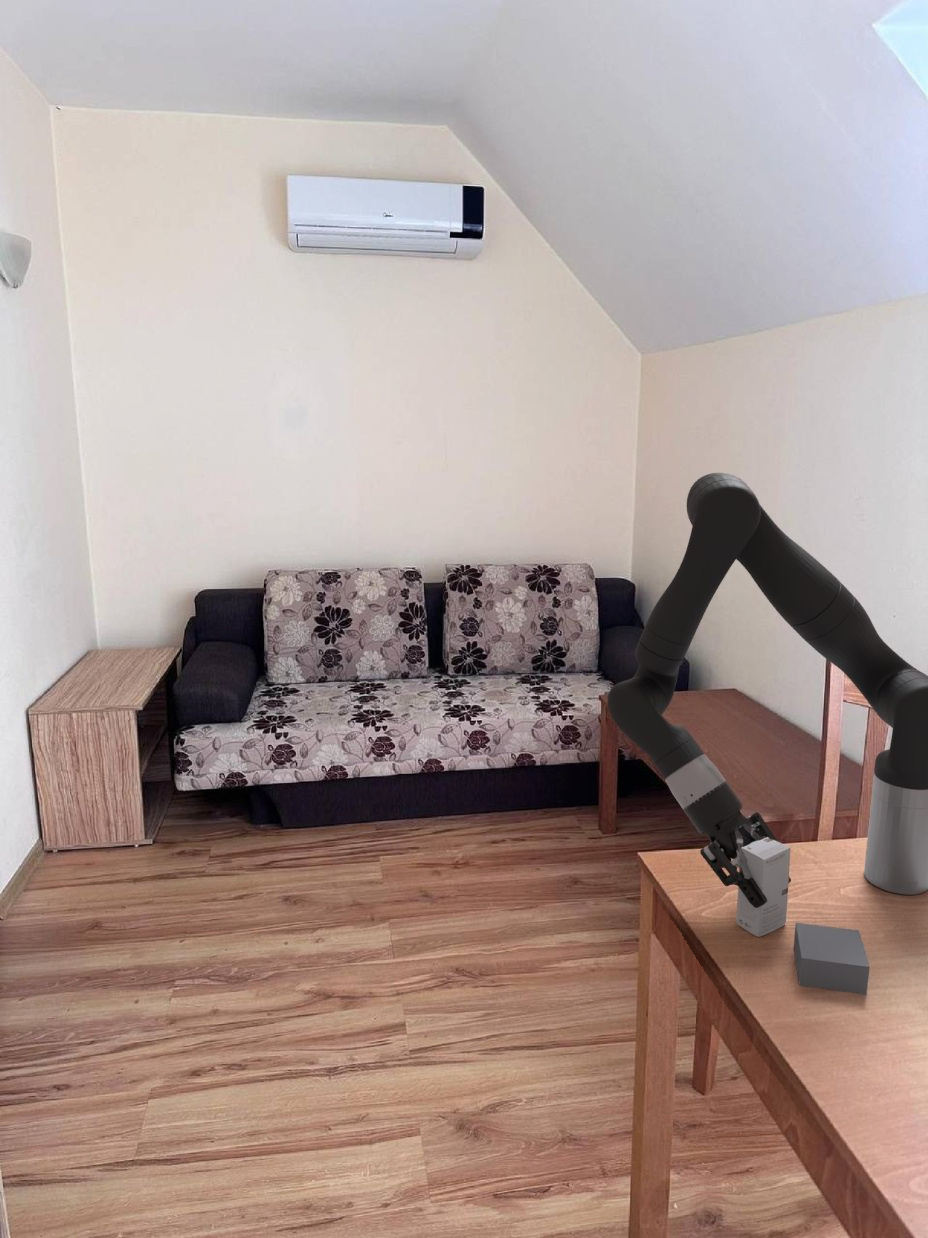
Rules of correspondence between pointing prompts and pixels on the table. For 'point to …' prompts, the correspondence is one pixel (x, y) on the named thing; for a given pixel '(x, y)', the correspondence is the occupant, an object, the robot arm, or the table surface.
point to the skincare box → (765, 887)
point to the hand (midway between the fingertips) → (773, 894)
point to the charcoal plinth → (831, 958)
